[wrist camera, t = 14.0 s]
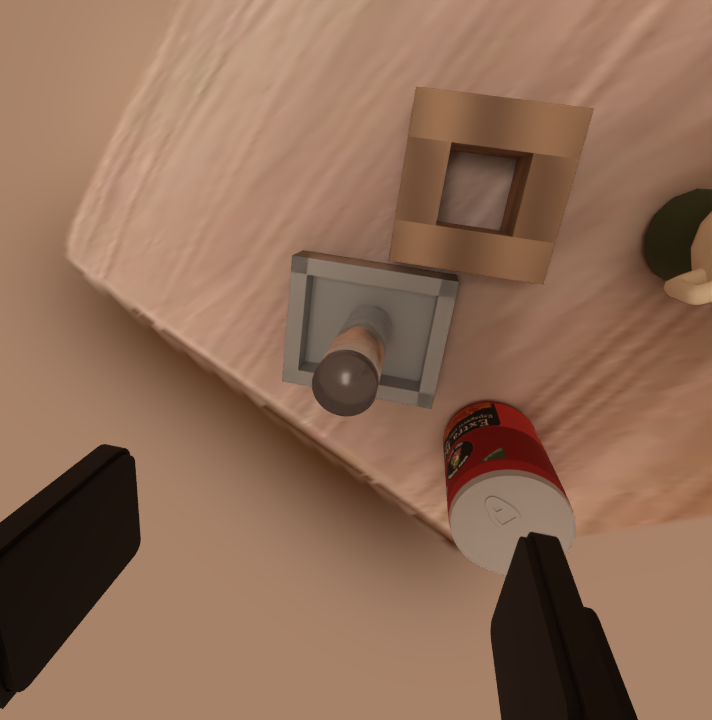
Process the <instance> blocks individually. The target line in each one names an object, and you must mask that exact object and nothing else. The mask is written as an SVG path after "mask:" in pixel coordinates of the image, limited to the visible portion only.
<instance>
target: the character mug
mask: <svg viewBox="0 0 712 720" xmlns="http://www.w3.org/2000/svg"><path fill="white" fill-rule="evenodd" d="M646 259H647V261H648V263H649V265H650V267H651V269H652V272H653V273H655V274H656V275H658V276H660V277H661V278H663V279H665V280H666V282H665V285H664V287H663V289H664V291H665V292H666V293H667V294H668V295H669V296H670V297H673V298H675V299H678V300H680V301H682V302H685V303H687V304H692V305H701V304H705V303H709V302H710V303H711V304H712V190H709V189H696V190H693V191H690V192H688V193H685V194H683V195H680V196H677V197H675V198H673V199H672V200H671V201H670V202H669V203H668V204H667V205H665V206H664V207H663V208H662V209H661V210H660V211H659V212H658V213H657V214H656V215H655V217H654V219H653V222H652V224H651V226H650V228H649V230H648V232H647V235H646Z"/></svg>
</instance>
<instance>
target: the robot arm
mask: <svg viewBox="0 0 712 720" xmlns="http://www.w3.org/2000/svg"><path fill="white" fill-rule="evenodd" d="M140 540H141V538H140V524H139V511H138V497H137V482H136V469H135V459H134V457H133V456H130V452H129V451H128V450H127V449H126V448H121V447H116V446H111V445H106V444H104V445H100V446H99V447H97V448H96V449H95V450H93V451H92V452H91V453H89V454H88V455H87V456H86V457H84V458H83V459H82V460H80V461H79V462H78V463H76V464H75V465H74V466H73V467H71V468H70V469H69V470H68V471H66V472H65V473H64V474H62V475H61V476H60V477H58V478H57V479H56V480H55V481H53V482H52V483H51V484H50V485H48V486H47V487H45V488H44V489H43V490H42V491H40V492H39V493H38V494H36V495H35V496H34V497H32V498H31V499H30V500H29V501H27V502H26V503H25V504H23V505H22V506H21V507H20V508H18V509H17V510H16V511H15V512H13V513H12V514H11V515H10V516H8V517H7V518H6V519H4V520H3V521H2V522H0V708H2V709H3V708H4V707H5V706H6V705H7V703H8V702H9V701H10V700H11V698H12V697H13V696H14V695H15V694H16V692H21V691H23V690H25V689H26V688H27V687H28V686H29V685H30V684H31V683H32V682H33V680H34V679H35V678H36V677H37V675H38V674H39V673H40V672H41V671H42V669H43V668H44V667H45V666H46V664H47V663H48V662H49V660H50V659H51V658H52V657H53V656H54V654H55V653H56V652H57V651H58V650H59V648H60V647H61V646H62V645H63V643H64V642H65V641H66V640H67V638H68V637H69V636H70V635H71V634H72V632H73V631H74V630H75V629H76V627H77V626H78V625H79V624H80V622H81V621H82V620H83V619H84V617H85V616H86V615H87V614H88V612H89V611H90V610H91V609H92V607H93V606H94V605H95V604H96V603H97V601H98V600H99V599H100V598H101V596H102V595H103V594H104V593H105V592H106V590H107V589H108V588H109V587H110V585H111V584H112V583H113V581H114V580H115V579H116V578H117V577H118V575H119V574H120V573H121V572H122V571H123V569H124V568H125V567H126V566H127V564H128V563H129V562H130V561H131V559H132V558H133V557H134V556H135V554H136V552H137V551H138V548H139V546H140ZM491 643H492V650H493V658H494V666H495V673H496V681H497V689H498V696H499V704H500V712H501V719H502V720H638V719H637V716H636V713H635V711H634V708H633V706H632V703H631V701H630V698H629V695H628V693H627V690H626V688H625V685H624V682H623V680H622V677H621V675H620V672H619V669H618V667H617V664H616V662H615V659H614V657H613V654H612V651H611V649H610V646H609V644H608V641H607V638H606V636H605V633H604V631H603V628H602V626H601V623H600V621H599V618H598V616H597V614H596V613H595V612H594V611H593V610H592V609H591V608H587V607H583V604H582V601H581V598H580V596H579V593H578V590H577V587H576V584H575V582H574V579H573V576H572V573H571V571H570V568H569V565H568V563H567V560H566V557H565V554H564V551H563V549H562V546H561V543H560V541H559V539H558V538H557V537H556V536H551V535H546V534H541V533H536V532H530V533H529V534H528V536H527V537H522V536H521V537H520V538H519V540H518V542H517V545H516V548H515V551H514V554H513V557H512V560H511V563H510V566H509V569H508V572H507V575H506V578H505V581H504V584H503V588H502V590H501V593H500V596H499V600H498V603H497V605H496V608H495V611H494V615H493V618H492V621H491Z"/></svg>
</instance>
